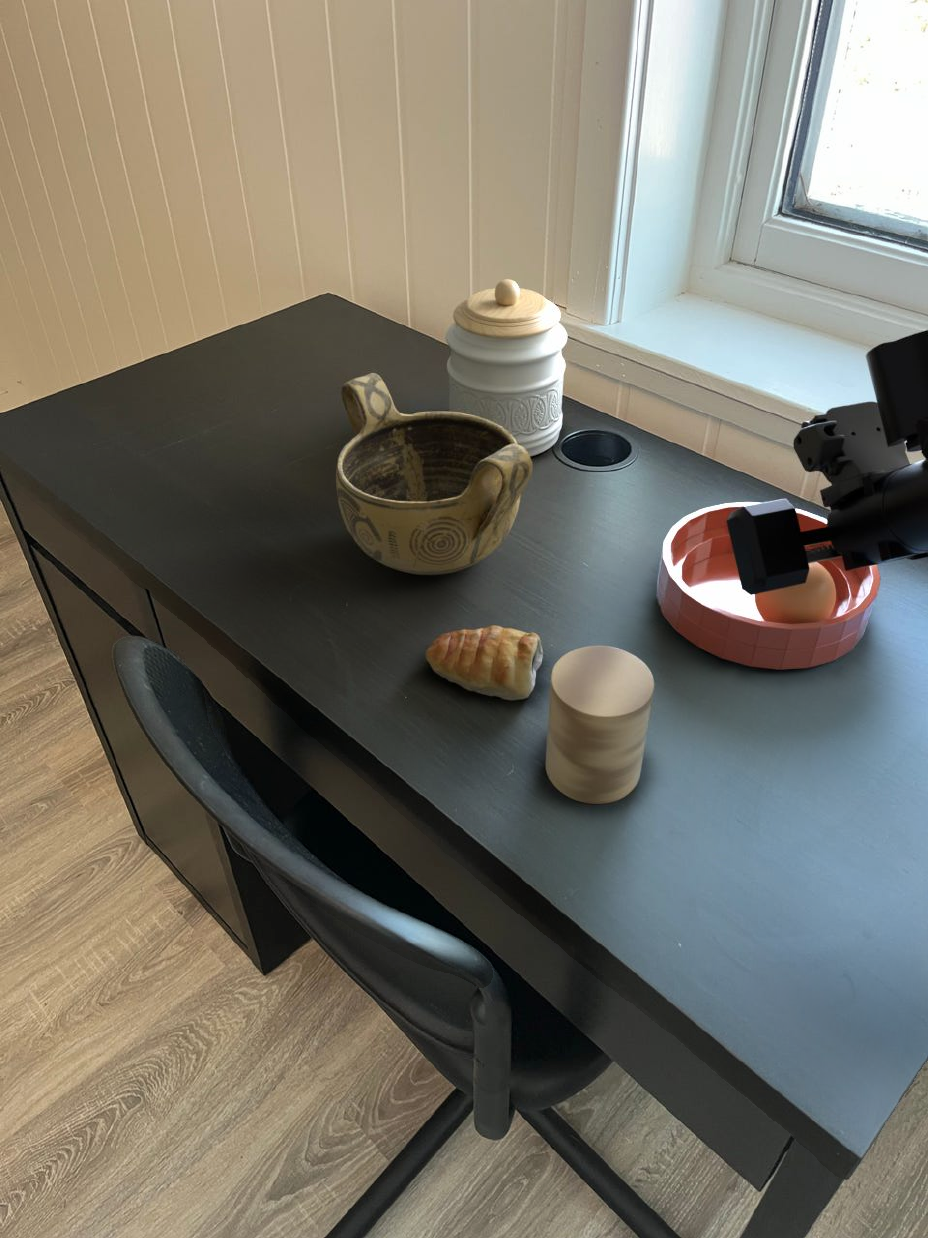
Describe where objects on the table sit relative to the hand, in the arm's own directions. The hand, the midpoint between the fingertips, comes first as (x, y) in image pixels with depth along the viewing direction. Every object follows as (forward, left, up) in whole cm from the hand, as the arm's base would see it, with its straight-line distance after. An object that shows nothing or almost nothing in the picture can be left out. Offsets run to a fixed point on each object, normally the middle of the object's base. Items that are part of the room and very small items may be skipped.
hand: (795, 549), depth 77 cm
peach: (-1, +1, -7) cm, 8 cm away
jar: (+35, -21, -8) cm, 42 cm away
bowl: (+2, -2, -8) cm, 9 cm away
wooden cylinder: (+9, +22, -8) cm, 25 cm away
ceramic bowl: (+32, +3, -8) cm, 33 cm away
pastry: (+20, +16, -8) cm, 27 cm away
